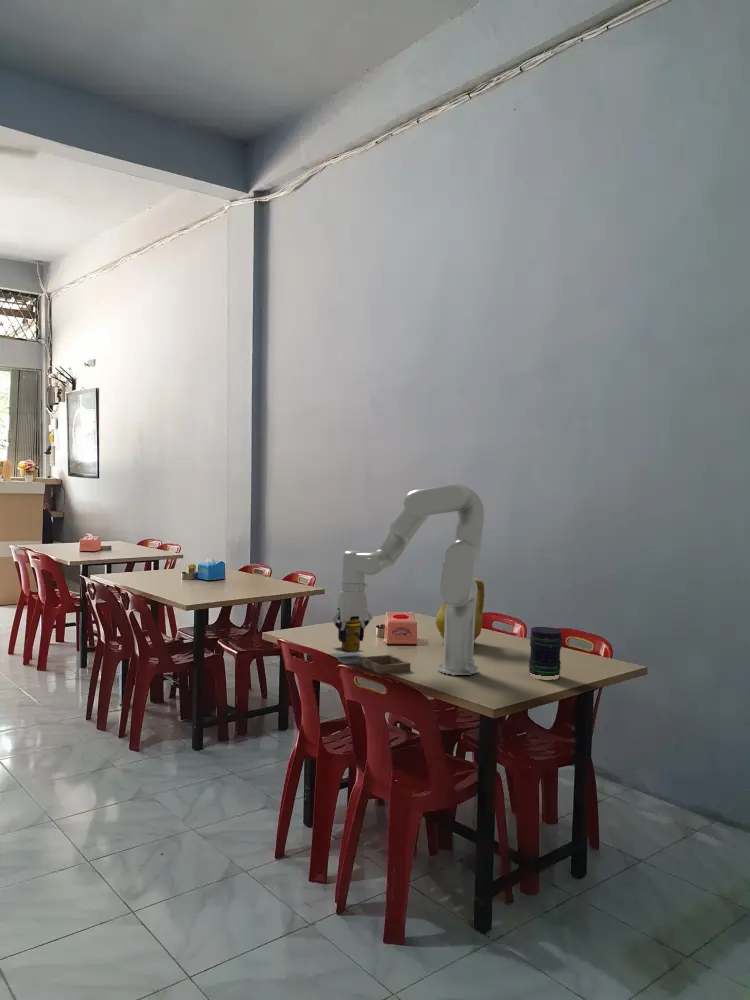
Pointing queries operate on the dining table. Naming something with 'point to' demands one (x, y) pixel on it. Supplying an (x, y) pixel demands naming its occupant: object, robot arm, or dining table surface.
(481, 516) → the robot arm
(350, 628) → the condiment
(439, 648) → the dining table surface
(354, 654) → the mat
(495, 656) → the dining table surface
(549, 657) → the storage jar
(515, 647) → the dining table surface
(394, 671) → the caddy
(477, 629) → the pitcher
